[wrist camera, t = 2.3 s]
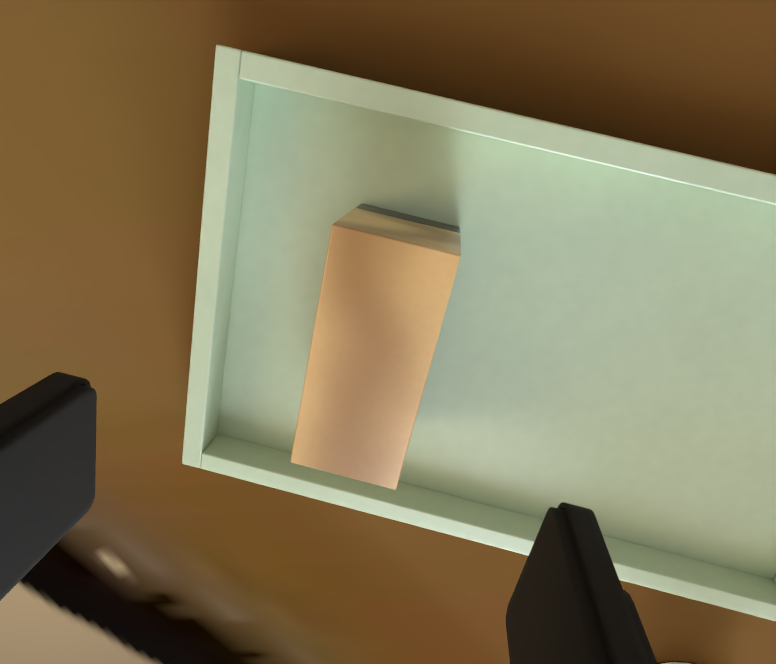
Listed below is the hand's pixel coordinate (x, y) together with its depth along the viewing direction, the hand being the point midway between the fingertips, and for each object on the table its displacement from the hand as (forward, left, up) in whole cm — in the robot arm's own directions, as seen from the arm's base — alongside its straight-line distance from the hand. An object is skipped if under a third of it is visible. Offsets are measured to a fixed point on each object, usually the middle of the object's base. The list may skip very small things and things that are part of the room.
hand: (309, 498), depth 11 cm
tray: (-6, 0, -11) cm, 13 cm away
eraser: (0, 0, -10) cm, 10 cm away
